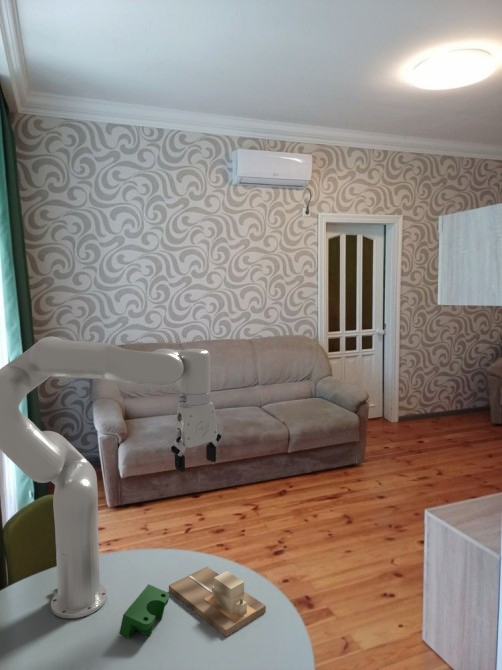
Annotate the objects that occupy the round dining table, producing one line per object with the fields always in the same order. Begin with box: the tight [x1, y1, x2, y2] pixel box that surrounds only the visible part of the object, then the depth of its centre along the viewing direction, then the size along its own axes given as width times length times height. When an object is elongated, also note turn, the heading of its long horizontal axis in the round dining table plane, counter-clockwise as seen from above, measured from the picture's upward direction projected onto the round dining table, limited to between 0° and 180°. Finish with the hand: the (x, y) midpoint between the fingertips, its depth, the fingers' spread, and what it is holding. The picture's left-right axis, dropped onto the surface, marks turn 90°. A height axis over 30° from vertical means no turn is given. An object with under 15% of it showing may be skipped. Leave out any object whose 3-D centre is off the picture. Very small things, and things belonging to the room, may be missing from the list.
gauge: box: [212, 570, 247, 617], centre depth 112 cm, size 10×4×6 cm, turn 43°
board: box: [168, 566, 267, 638], centre depth 116 cm, size 22×12×2 cm, turn 43°
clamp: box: [119, 584, 170, 639], centre depth 107 cm, size 12×6×9 cm, turn 158°
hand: (196, 465), depth 122 cm, fingers open, 9 cm apart
